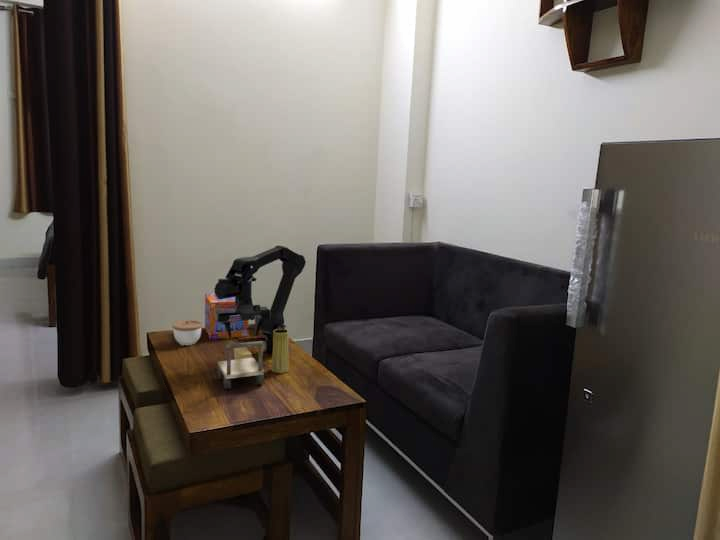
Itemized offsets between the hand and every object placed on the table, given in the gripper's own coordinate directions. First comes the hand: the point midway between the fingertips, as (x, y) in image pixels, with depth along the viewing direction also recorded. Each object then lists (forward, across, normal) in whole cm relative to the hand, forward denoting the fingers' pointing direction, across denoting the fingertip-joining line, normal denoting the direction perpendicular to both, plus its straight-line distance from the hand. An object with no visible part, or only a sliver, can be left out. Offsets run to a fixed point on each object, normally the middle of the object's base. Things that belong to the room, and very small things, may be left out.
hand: (243, 337), depth 191 cm
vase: (+10, +10, -12) cm, 18 cm away
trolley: (+9, -5, -17) cm, 20 cm away
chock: (+10, 0, 0) cm, 10 cm away
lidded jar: (+10, -15, +28) cm, 33 cm away
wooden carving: (+10, +16, +25) cm, 31 cm away
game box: (+10, +2, +37) cm, 38 cm away
